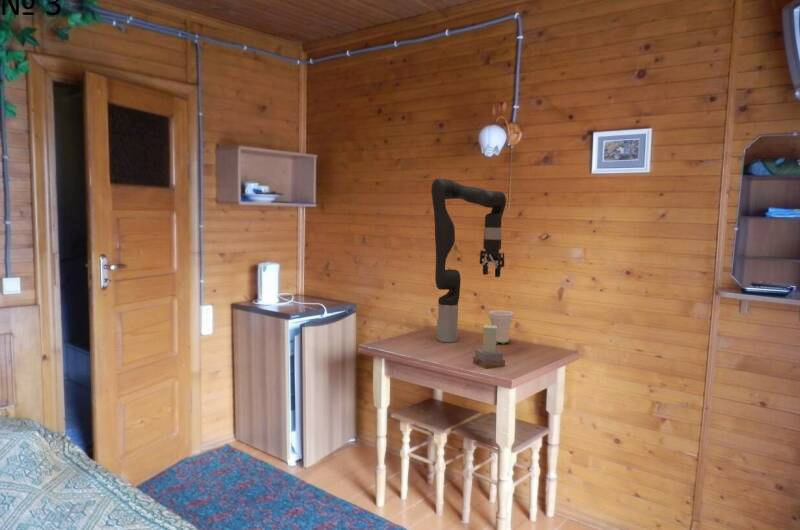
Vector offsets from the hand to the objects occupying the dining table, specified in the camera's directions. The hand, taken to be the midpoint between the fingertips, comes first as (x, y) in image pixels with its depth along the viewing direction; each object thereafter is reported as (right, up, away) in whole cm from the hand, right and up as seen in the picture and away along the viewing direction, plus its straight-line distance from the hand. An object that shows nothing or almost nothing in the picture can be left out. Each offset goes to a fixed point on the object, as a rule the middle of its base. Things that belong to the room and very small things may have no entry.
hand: (491, 275), depth 248 cm
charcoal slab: (-4, -33, -18) cm, 38 cm away
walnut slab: (-4, -36, -18) cm, 40 cm away
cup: (+7, -32, +19) cm, 37 cm away
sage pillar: (-4, -30, -19) cm, 35 cm away
